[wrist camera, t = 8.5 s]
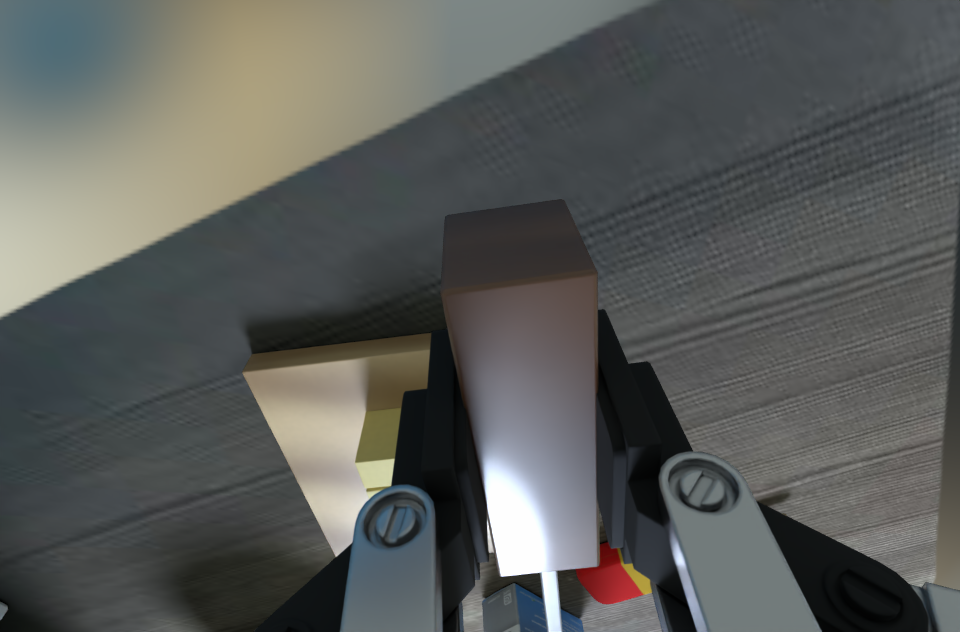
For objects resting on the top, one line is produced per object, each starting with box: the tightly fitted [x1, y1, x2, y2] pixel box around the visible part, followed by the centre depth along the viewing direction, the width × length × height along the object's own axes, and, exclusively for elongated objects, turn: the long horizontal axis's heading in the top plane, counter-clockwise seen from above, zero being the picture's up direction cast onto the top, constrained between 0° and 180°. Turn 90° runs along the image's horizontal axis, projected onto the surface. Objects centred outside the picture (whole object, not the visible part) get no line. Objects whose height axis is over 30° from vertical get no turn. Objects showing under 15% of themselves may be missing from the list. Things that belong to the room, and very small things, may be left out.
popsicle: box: [576, 513, 787, 604], centre depth 37 cm, size 6×15×2 cm, turn 119°
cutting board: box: [242, 333, 494, 557], centre depth 31 cm, size 18×16×2 cm
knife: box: [440, 199, 600, 632], centre depth 14 cm, size 17×2×3 cm, turn 8°
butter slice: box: [355, 408, 401, 488], centre depth 27 cm, size 2×5×4 cm, turn 97°
